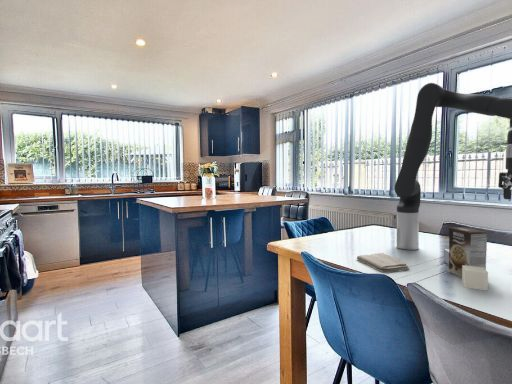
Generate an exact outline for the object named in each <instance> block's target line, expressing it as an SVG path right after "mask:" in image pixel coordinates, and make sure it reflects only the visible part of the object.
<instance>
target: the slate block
mask: <svg viewBox="0 0 512 384" xmlns="http://www.w3.org/2000/svg"><path fill="white" fill-rule="evenodd" d="M443 262H444V263H446V264H447V265H449V248H448V249H447V248H444V249H443Z"/></svg>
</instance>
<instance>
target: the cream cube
mask: <svg viewBox="0 0 512 384" xmlns="http://www.w3.org/2000/svg"><path fill="white" fill-rule="evenodd" d="M461 282H462V285H463V286H464V288H466V289H476V290H481V291H488V290H489V288H488V285H489V283H488V282H489V272H488V271H487V269H486V270H485V268H484V267H476V266H466V265H462V277H461Z"/></svg>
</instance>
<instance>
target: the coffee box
mask: <svg viewBox="0 0 512 384" xmlns="http://www.w3.org/2000/svg"><path fill="white" fill-rule="evenodd" d="M448 229H449V231H448V232H449V233H448V235H449V236H448V242H449V243H448V249H449V264H448V272H449V273H451V274H453V275H456V276H457V277H460V278H462V265H466V266H476V267H484V268H485V270H486V271H487V250H488V249H487V244H488V243H487V242H488V231H484V230H479V229H475V228H471V227H467V226H462V227H461V226H452V227H449V228H448Z"/></svg>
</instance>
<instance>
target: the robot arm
mask: <svg viewBox="0 0 512 384" xmlns="http://www.w3.org/2000/svg"><path fill="white" fill-rule="evenodd" d="M436 108H449V109H457V110H461V111H466V112H469V113H473V114H477V115H478V114H479V115H483V116H489V117H499V118H500V117H501V118H503V119H509V130H508V131H507V138H506V140H507V141H506V144H507V145H506V148H505V149H506V150H505V170H506V172H504V171H503V172H502V171H501V172H498V173H499V174H498V188H500V189H502V190H503V199H504V200H511V199H512V98H505V97H503V98H502V97H498V96H492V95H488V94H487V95H486V94H478V93H462V92H461V93H460V92H454V91H452V90H448V89H446V88H443V86H441V85H439V84H437V83H434V82H429V83H426V84H424V85H423V86H422V87H421V88H420V89H419V91H418V93H417V96H416V104H415V112H414V116H413V120H412V122H411V126H410V131H409V135H408V138H407V142H406V145H405V151H404V155H403V158H402V164H401V167H400V170H399V173H398V176H397V178H396V181H395V183H394V187H393V188H394V189H393V190H394V193H395V194H396V197H397V196H398V197H399V202H398V204H397V206H396V249H402V250H409V251H410V250H411V251H412V250H413V251H414V250H418V249H419V244H420V242H419V236H420V235H419V224H420V223H419V222H420V221H419V219H420V217H419V216H420V215H419V212H420V211H419V210H420V206H421V190H422V189H421V184H420V182H419V181H418V180H417V176H418V172H419V170H420V167H421V165H422V164H423V162H424V160H425V158H426V157H427V155H428V153H429V150H430V146H431V143H432V139H433V137H432V136H433V116H434V112H435V109H436Z"/></svg>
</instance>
